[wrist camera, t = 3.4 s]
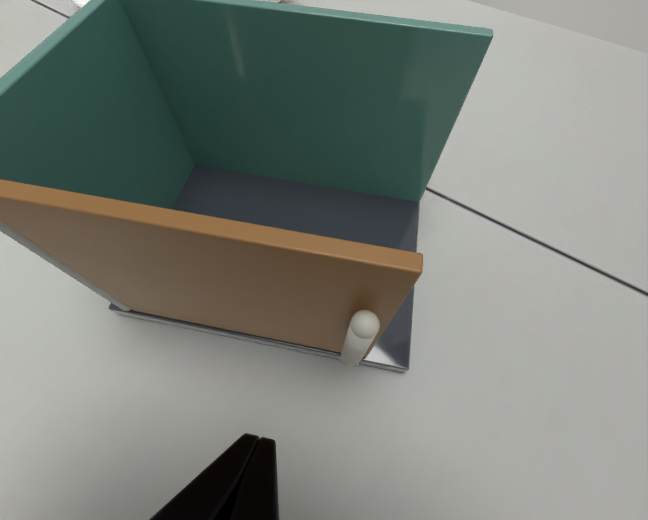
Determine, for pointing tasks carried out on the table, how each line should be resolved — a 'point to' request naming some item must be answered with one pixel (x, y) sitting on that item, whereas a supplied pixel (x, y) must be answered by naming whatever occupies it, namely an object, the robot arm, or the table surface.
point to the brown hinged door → (216, 268)
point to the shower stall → (246, 121)
